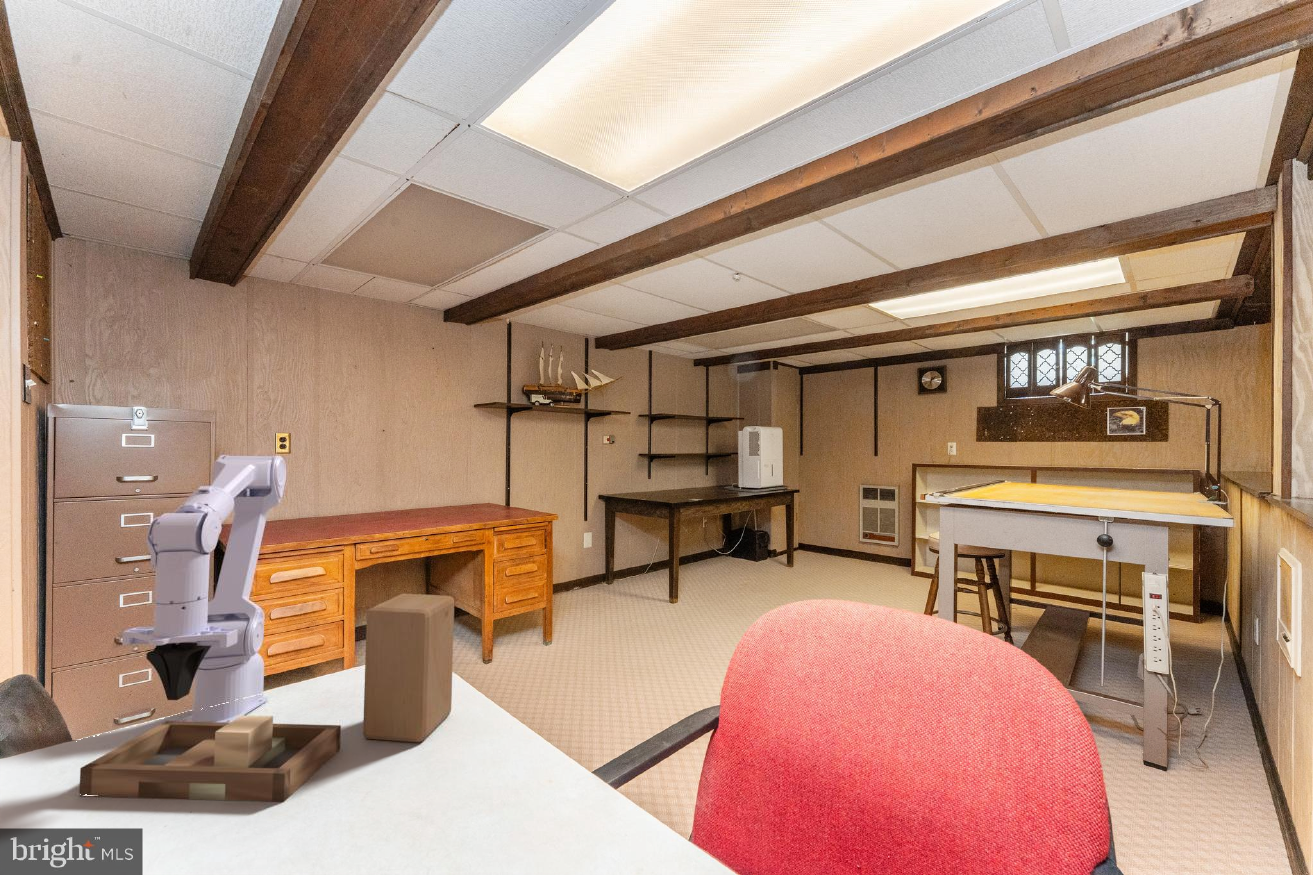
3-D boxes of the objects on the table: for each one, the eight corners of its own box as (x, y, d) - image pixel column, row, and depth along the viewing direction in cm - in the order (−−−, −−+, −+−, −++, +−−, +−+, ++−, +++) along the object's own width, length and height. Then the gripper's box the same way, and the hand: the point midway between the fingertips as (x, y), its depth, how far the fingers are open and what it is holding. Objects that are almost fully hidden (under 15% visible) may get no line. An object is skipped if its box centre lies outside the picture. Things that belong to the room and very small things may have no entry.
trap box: (165, 744, 81) (166, 720, 81) (340, 749, 81) (340, 725, 81) (79, 796, 69) (80, 768, 69) (283, 801, 69) (284, 773, 69)
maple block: (240, 747, 77) (241, 715, 77) (271, 748, 77) (273, 716, 77) (214, 766, 73) (215, 731, 73) (247, 766, 72) (248, 732, 73)
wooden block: (453, 713, 92) (456, 594, 93) (422, 745, 82) (426, 611, 83) (397, 709, 93) (400, 591, 94) (359, 740, 83) (363, 608, 84)
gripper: (101, 605, 72) (97, 709, 72) (209, 608, 72) (206, 711, 72) (151, 591, 79) (147, 686, 79) (250, 594, 79) (246, 688, 79)
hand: (178, 696), depth 76 cm, fingers closed
